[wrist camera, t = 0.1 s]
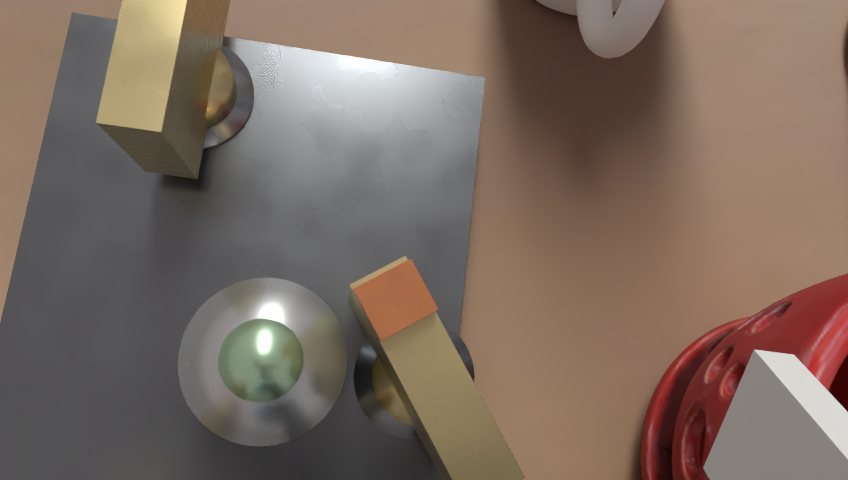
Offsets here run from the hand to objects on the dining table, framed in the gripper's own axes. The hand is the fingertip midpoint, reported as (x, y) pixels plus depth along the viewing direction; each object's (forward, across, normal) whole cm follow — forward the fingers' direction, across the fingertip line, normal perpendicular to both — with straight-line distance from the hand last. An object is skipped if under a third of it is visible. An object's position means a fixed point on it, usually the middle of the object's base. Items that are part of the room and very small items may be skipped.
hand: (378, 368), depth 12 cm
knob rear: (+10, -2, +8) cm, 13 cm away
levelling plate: (+12, +4, +9) cm, 16 cm away
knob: (+16, +7, 0) cm, 18 cm away
